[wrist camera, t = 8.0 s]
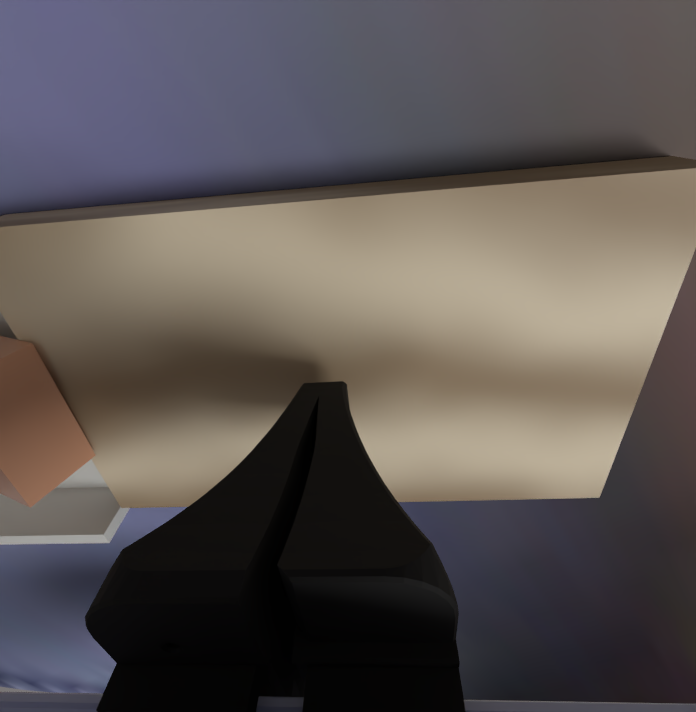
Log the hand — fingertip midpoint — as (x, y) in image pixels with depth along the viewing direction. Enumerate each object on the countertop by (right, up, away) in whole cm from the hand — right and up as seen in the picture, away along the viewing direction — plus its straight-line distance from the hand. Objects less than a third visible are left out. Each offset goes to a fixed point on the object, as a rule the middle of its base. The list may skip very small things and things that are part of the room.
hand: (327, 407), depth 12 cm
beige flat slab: (0, +2, +3) cm, 3 cm away
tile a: (-11, 0, +2) cm, 12 cm away
